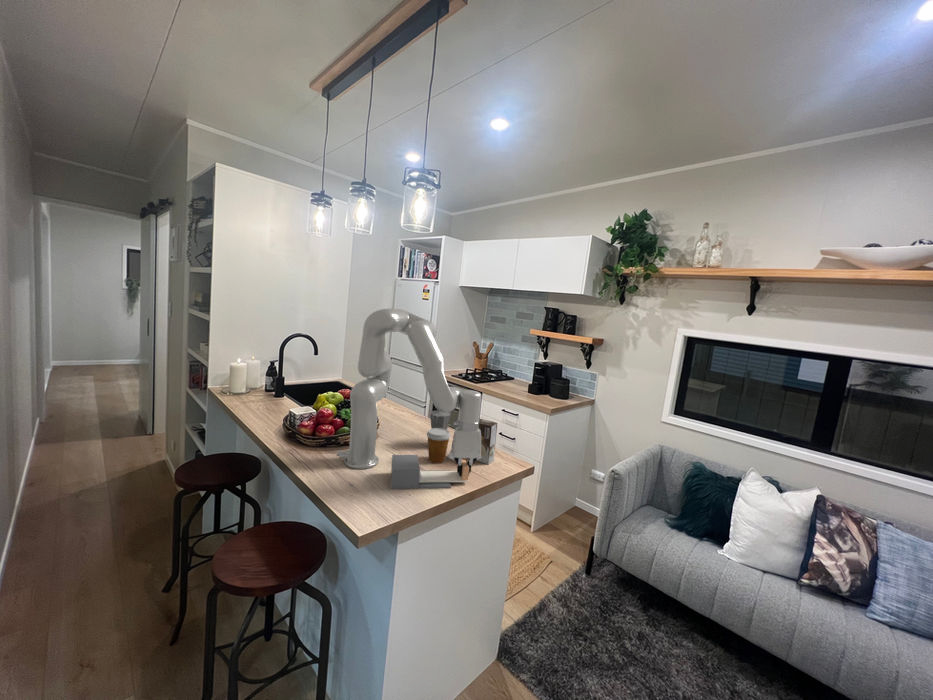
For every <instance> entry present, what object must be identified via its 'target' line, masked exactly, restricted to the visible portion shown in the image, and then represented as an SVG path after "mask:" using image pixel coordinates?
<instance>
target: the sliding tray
mask: <svg viewBox="0 0 933 700" xmlns="http://www.w3.org/2000/svg"><path fill="white" fill-rule="evenodd" d="M462 466H463V467H462V476H459V473H457V470H446V471H420V472H421V478H422V482H419V483H428V482H450V483H469V477H470V473H469V467H468V464H467V461H466V459H462Z"/></svg>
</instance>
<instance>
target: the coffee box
mask: <svg viewBox="0 0 933 700" xmlns="http://www.w3.org/2000/svg"><path fill="white" fill-rule="evenodd" d="M479 429H480V430H481V455H482V458H481V459H478V460H476V461H475V462H479V463H483V464H486V465H490V464H491V463H492V462H494V461H495V454H496V452H495V451H496V442H497V432H498V431H497V430H498V422H494V421H490V420H487V419H483V418H479Z"/></svg>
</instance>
